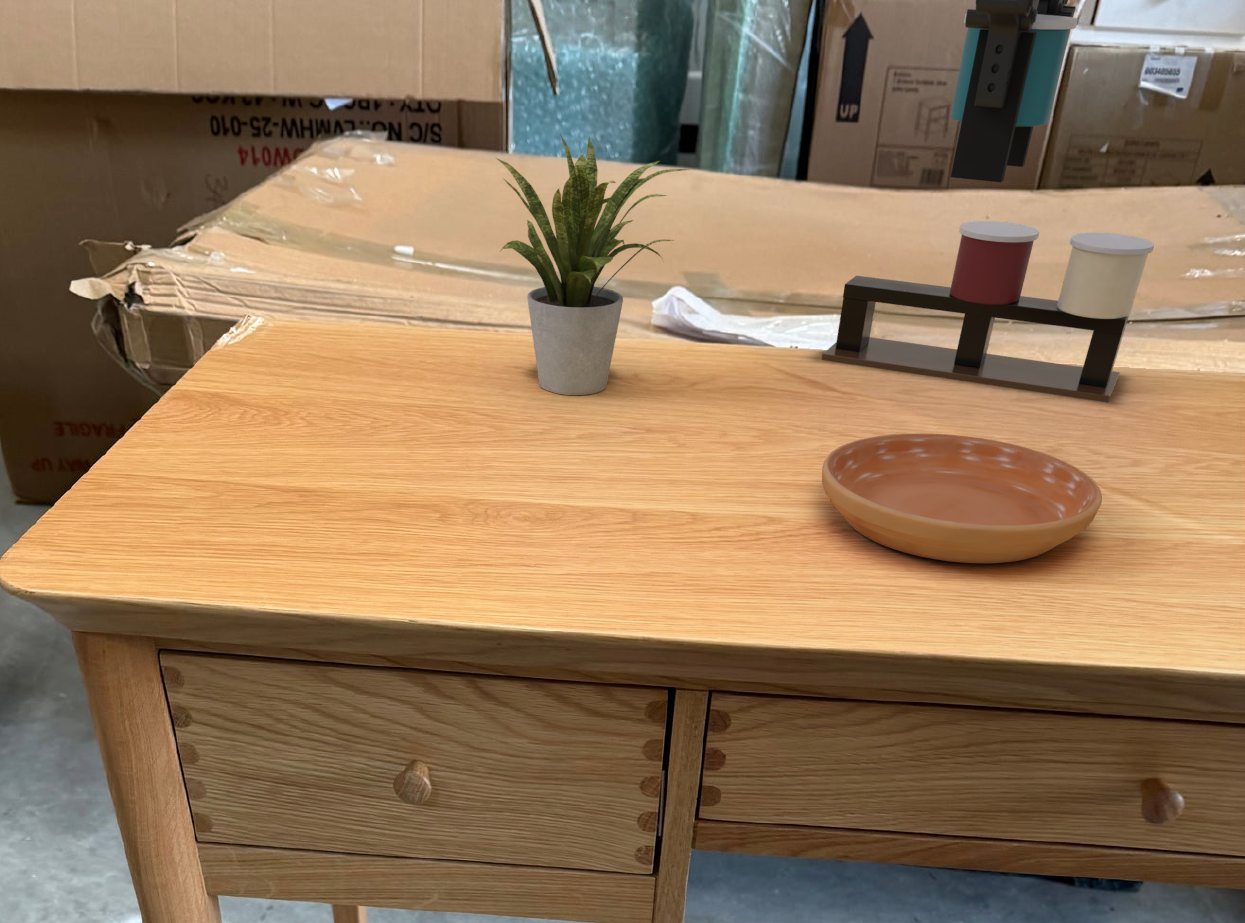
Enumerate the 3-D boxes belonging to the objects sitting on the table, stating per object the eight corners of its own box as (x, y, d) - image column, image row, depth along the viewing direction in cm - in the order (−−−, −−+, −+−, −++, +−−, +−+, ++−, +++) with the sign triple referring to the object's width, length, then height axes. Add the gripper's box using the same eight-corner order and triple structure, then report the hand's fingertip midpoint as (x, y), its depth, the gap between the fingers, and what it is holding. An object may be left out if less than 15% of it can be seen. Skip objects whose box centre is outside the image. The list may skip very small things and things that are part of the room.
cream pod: (1149, 313, 89) (1171, 244, 86) (1101, 323, 87) (1122, 252, 84) (1085, 297, 93) (1103, 229, 90) (1037, 306, 90) (1054, 237, 87)
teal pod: (1075, 124, 66) (1101, 19, 63) (1004, 129, 63) (1028, 20, 60) (993, 111, 69) (1014, 12, 66) (923, 116, 67) (942, 12, 64)
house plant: (709, 408, 89) (735, 148, 78) (533, 426, 85) (536, 154, 74) (630, 356, 99) (643, 119, 88) (470, 370, 95) (464, 123, 84)
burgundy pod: (1038, 300, 92) (1055, 231, 89) (988, 309, 89) (1004, 239, 86) (980, 284, 95) (994, 218, 92) (930, 292, 93) (944, 225, 90)
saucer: (861, 460, 81) (869, 414, 79) (1108, 507, 75) (1123, 459, 73) (777, 541, 70) (784, 490, 68) (1059, 604, 64) (1075, 550, 62)
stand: (1104, 412, 90) (1130, 326, 86) (820, 369, 97) (832, 287, 93) (1115, 388, 95) (1140, 305, 91) (843, 348, 102) (855, 270, 98)
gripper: (1065, -397, 61) (957, 145, 75) (992, -490, 48) (879, 187, 62) (1226, -406, 58) (1082, 156, 73) (1195, -506, 45) (1027, 203, 60)
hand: (988, 170), depth 68 cm, fingers closed on teal pod, 6 cm apart
